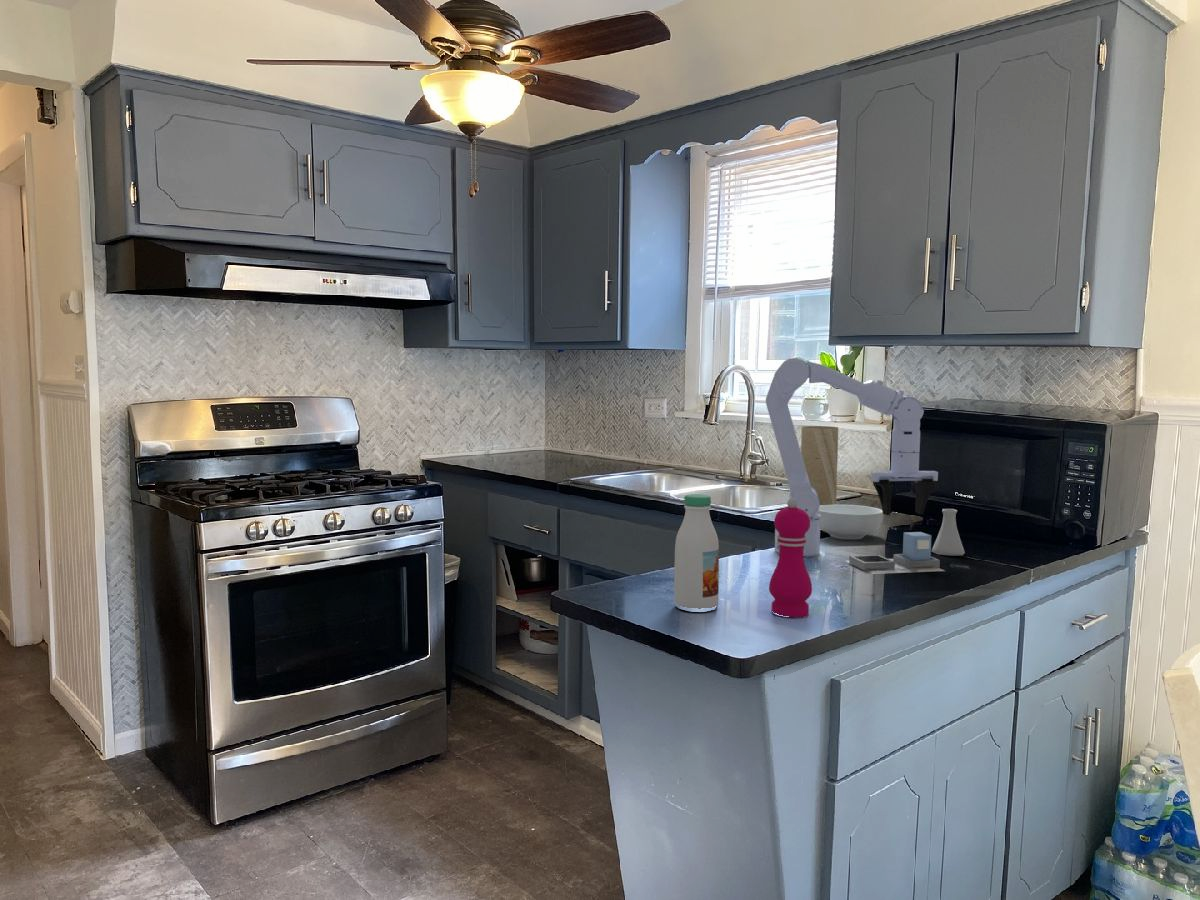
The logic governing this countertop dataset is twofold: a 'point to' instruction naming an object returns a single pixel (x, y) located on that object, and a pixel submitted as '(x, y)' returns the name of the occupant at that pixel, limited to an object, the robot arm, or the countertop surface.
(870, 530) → the cereal bowl
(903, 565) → the panel
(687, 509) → the milk bottle
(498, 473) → the countertop surface
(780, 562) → the pepper mill
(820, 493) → the tapered wooden vase
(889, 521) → the countertop surface
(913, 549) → the plug
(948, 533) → the flask
